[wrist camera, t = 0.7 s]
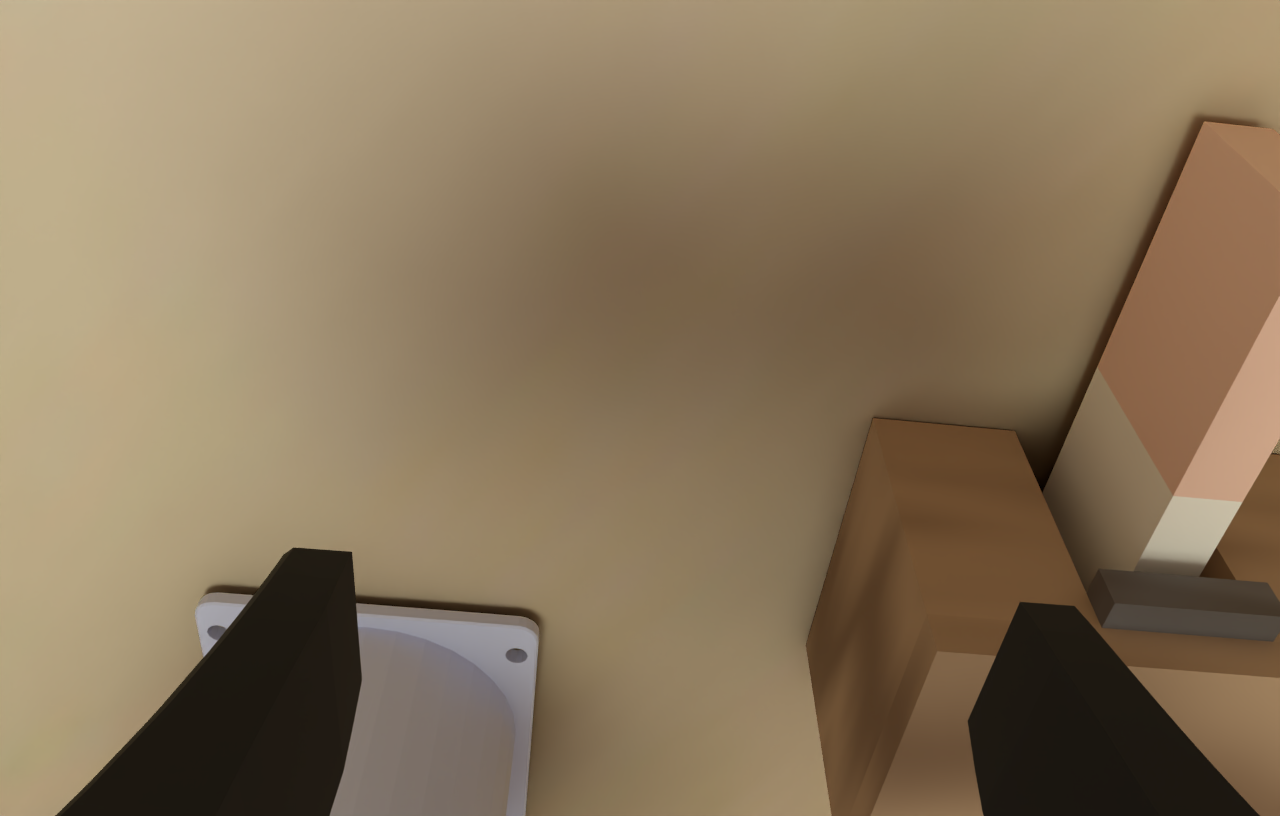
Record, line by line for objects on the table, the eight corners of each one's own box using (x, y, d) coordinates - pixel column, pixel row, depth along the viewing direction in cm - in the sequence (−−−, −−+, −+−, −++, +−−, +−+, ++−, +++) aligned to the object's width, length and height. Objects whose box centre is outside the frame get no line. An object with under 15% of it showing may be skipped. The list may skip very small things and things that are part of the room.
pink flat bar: (1035, 626, 25) (1088, 765, 22) (986, 622, 25) (1032, 761, 22) (1272, 128, 18) (1398, 234, 15) (1204, 121, 18) (1316, 226, 15)
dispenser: (1161, 672, 27) (1277, 913, 22) (805, 645, 27) (842, 885, 22) (1305, 433, 23) (1491, 669, 18) (879, 394, 22) (947, 625, 17)
